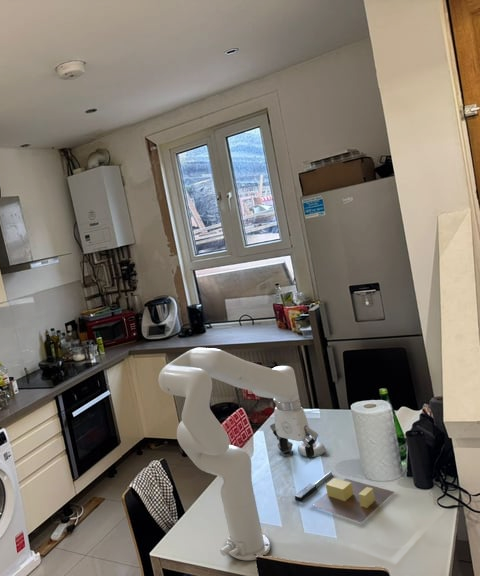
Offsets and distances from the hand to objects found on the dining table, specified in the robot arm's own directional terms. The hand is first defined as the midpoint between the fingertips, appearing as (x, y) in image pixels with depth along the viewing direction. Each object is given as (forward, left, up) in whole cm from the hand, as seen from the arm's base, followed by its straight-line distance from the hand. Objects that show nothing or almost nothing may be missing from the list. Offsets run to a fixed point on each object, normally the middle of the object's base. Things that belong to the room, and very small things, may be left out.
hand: (297, 453), depth 167 cm
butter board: (+6, -13, -16) cm, 21 cm away
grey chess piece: (+24, +24, -16) cm, 37 cm away
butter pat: (+6, -18, -15) cm, 24 cm away
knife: (+5, 0, -16) cm, 17 cm away
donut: (+29, +16, -16) cm, 37 cm away
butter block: (+6, -9, -15) cm, 18 cm away
